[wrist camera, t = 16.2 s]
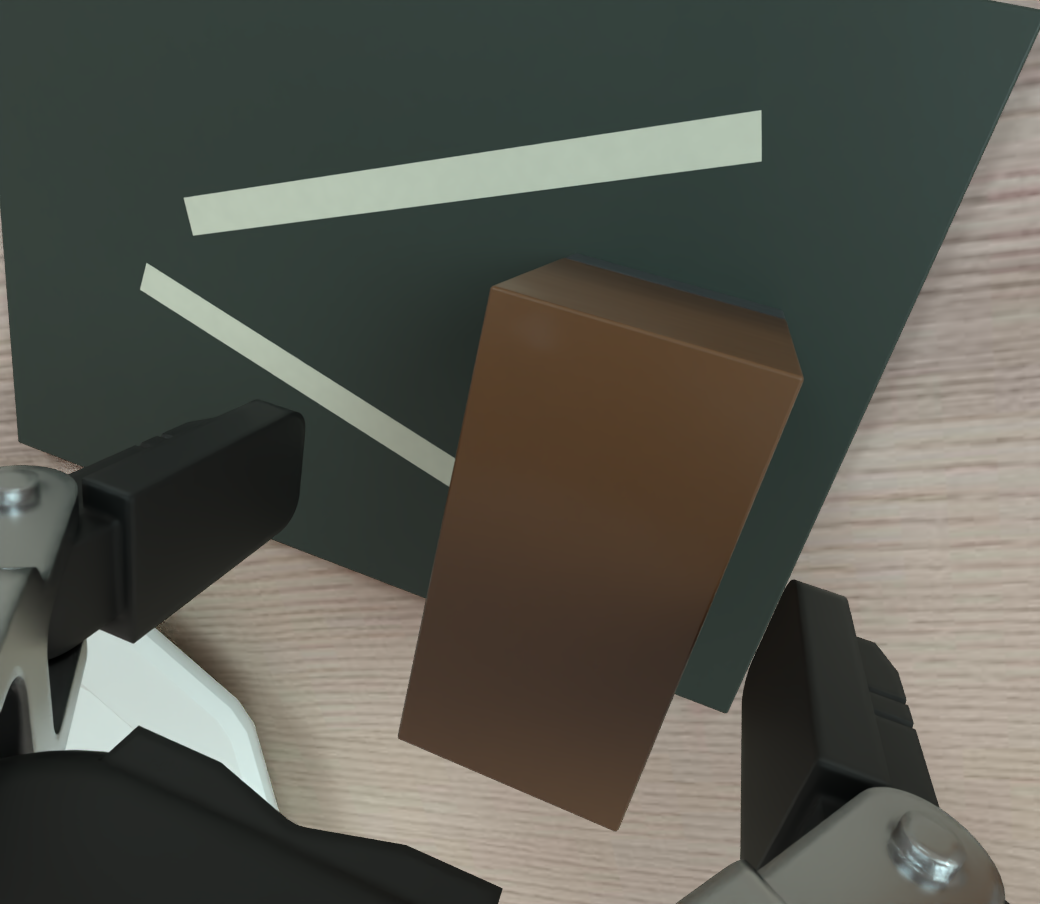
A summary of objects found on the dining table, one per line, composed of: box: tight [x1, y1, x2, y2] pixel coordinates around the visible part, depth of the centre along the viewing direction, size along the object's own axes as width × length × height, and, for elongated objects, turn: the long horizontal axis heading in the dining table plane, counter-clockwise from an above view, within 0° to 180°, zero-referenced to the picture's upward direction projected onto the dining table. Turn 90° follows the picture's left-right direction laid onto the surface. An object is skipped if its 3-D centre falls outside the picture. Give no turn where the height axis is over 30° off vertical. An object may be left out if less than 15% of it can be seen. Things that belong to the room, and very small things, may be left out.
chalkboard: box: [0, 0, 1040, 713], centre depth 15 cm, size 14×20×1 cm
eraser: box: [398, 253, 804, 831], centre depth 12 cm, size 8×4×5 cm, turn 167°
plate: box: [65, 628, 279, 812], centre depth 26 cm, size 25×25×2 cm
